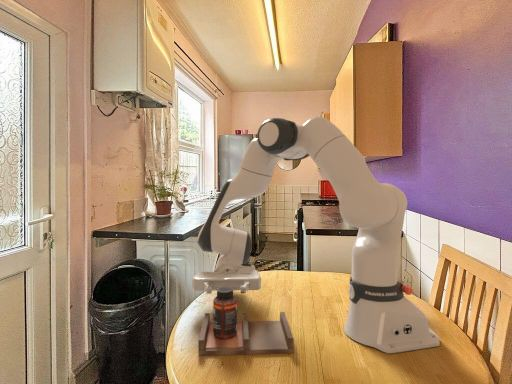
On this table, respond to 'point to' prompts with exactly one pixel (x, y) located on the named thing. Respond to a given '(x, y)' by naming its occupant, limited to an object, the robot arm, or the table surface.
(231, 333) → the supplement bottle
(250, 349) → the slot rack
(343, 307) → the table surface
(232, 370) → the table surface
